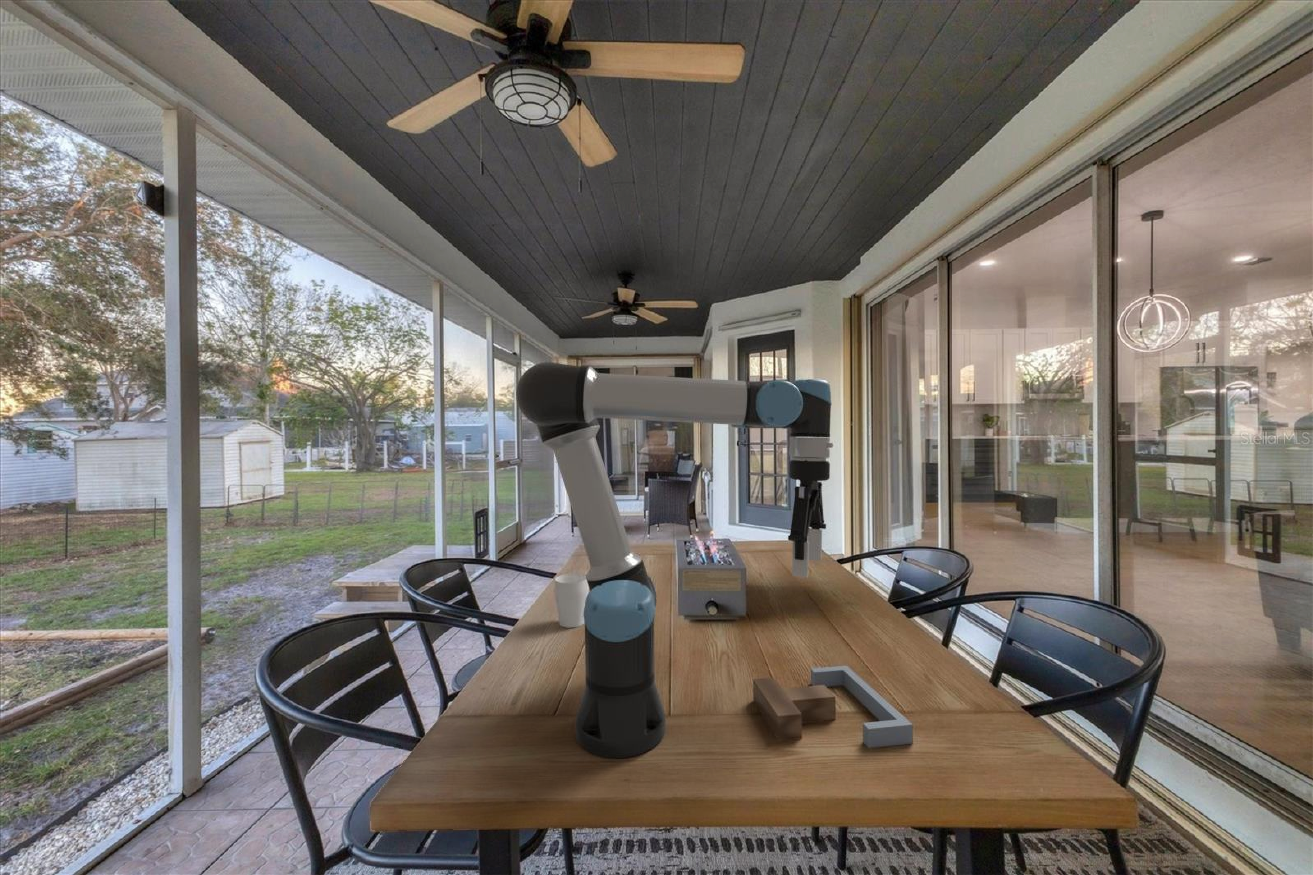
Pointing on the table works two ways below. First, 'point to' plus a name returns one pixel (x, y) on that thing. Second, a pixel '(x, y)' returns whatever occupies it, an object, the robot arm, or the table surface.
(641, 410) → the robot arm
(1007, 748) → the table surface
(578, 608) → the cup
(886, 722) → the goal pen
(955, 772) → the table surface
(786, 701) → the walnut T
